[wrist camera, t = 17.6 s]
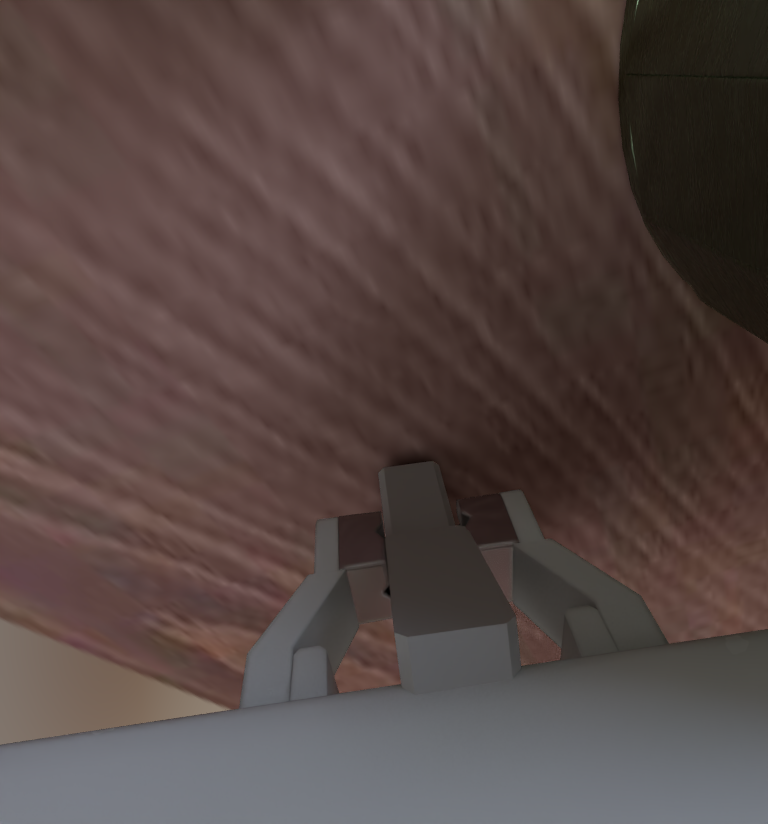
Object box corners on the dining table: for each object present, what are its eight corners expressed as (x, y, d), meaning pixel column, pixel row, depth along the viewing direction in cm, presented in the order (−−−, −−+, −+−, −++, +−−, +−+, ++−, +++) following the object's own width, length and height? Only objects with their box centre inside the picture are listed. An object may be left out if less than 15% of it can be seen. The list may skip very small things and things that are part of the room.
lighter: (444, 560, 18) (515, 867, 11) (391, 568, 18) (429, 879, 11) (433, 367, 14) (531, 659, 7) (364, 376, 14) (399, 678, 7)
